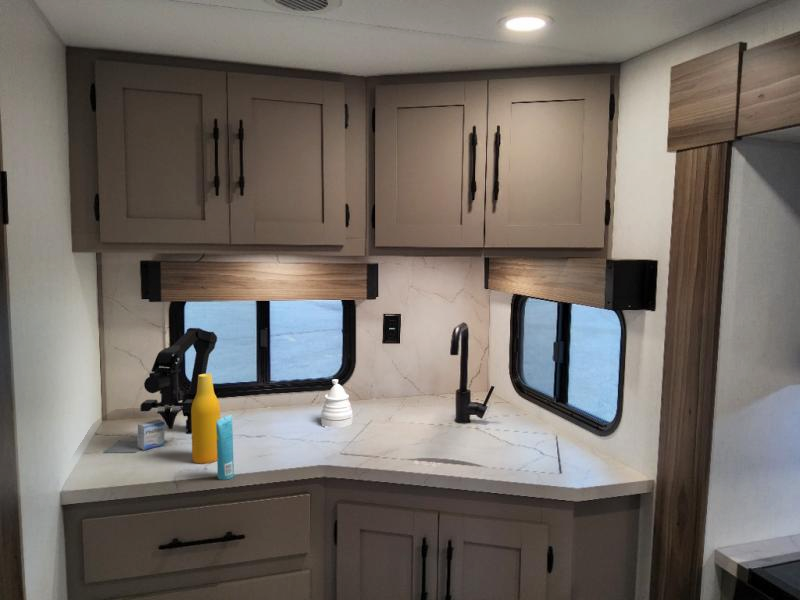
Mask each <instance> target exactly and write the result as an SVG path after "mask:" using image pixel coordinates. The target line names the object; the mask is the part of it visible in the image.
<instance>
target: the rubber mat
mask: <svg viewBox="0 0 800 600" xmlns="http://www.w3.org/2000/svg"><path fill="white" fill-rule="evenodd" d="M139 450H141V449H140V448H139V447H138V439H129V440H128V439H122V440H121V439H118V440H116V442H115V443H112V445H110V446H109V447H108V448H107V449H105V450H104V451H103V452H102V453H103V454H136V453H137V452H139Z"/></svg>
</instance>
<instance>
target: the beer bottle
mask: <svg viewBox="0 0 800 600" xmlns="http://www.w3.org/2000/svg"><path fill="white" fill-rule="evenodd" d="M212 376H213V375H212V374H211V373H206V374H200V375H199V376H198V386H197V394H196V396H195V398H194V401H193V403H192V408H191V420H192V433H191V458H192V462H194V463H197V464H199V463H200V464H201V465H202V464H203V465H205V463H207V464H211V462H212V463H215V462H217V423H216V422H217V420H219V419H221V406H220V401H219V399H218V397H217V395H216V394H215V390H214V383H213V381H214V380H213V377H212Z"/></svg>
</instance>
